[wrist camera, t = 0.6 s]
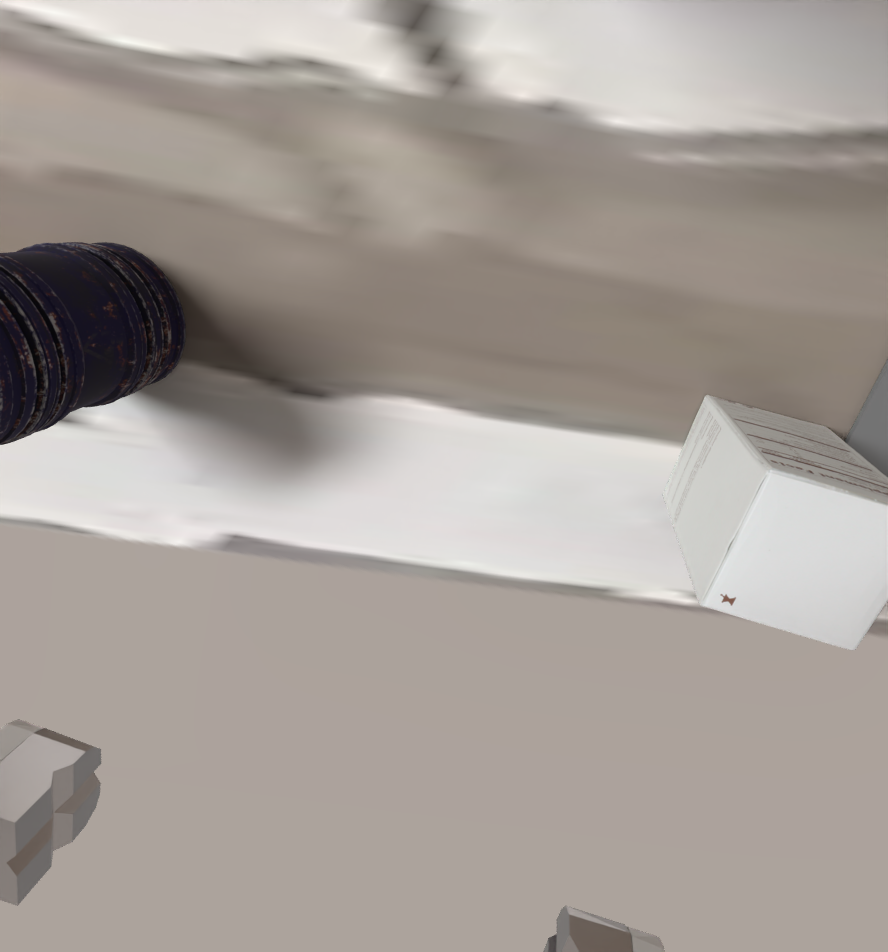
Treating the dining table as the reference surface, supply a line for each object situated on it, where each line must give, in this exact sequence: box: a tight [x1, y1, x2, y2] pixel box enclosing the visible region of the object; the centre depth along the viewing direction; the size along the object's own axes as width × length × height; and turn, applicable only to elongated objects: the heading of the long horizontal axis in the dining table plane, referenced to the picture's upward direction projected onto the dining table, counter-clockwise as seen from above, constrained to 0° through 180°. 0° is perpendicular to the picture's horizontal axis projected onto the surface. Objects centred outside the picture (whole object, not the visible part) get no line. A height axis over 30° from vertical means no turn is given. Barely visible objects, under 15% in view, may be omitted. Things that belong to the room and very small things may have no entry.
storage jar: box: [0, 242, 186, 445], centre depth 35 cm, size 10×10×15 cm
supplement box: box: [662, 395, 888, 650], centre depth 32 cm, size 7×7×13 cm
